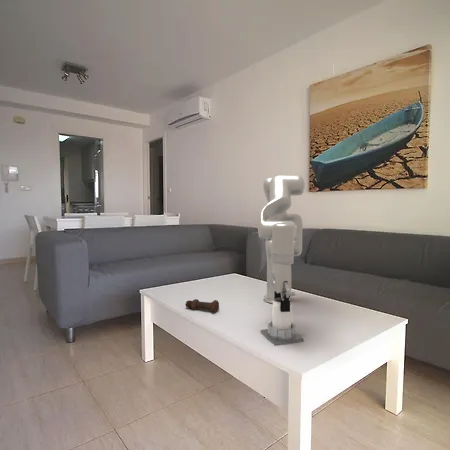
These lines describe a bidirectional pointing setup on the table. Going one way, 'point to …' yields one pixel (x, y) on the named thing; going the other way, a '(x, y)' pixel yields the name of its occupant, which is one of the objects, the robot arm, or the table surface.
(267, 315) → the table surface
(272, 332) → the duct collar
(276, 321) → the can
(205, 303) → the bolt
